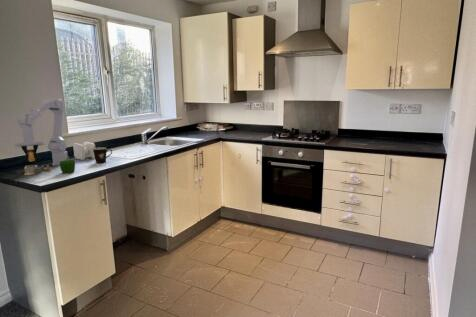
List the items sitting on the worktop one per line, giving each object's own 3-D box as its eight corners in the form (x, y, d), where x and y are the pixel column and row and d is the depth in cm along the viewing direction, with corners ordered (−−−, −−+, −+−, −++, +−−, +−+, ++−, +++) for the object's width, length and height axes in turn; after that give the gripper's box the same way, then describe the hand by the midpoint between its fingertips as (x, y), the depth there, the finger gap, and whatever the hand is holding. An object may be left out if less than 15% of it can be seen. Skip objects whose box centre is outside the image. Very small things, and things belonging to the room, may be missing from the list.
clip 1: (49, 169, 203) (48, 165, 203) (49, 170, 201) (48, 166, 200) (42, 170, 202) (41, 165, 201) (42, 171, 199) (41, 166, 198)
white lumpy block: (73, 158, 239) (72, 142, 236) (87, 155, 247) (86, 141, 244) (83, 161, 229) (81, 145, 227) (97, 158, 237) (95, 143, 235)
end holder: (37, 169, 204) (37, 164, 203) (37, 171, 198) (36, 167, 198) (25, 170, 201) (25, 166, 200) (25, 173, 195) (24, 168, 195)
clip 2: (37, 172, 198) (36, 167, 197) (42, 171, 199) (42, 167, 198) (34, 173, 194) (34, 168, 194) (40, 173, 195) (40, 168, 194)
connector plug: (35, 160, 200) (33, 149, 198) (35, 161, 197) (33, 149, 195) (28, 160, 198) (27, 149, 196) (28, 161, 195) (27, 150, 194)
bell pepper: (69, 175, 192) (67, 159, 190) (57, 174, 194) (55, 158, 192) (79, 172, 200) (77, 156, 198) (68, 171, 202) (66, 155, 200)
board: (51, 167, 210) (51, 166, 210) (51, 173, 197) (51, 172, 197) (26, 170, 204) (26, 169, 204) (24, 176, 191) (24, 175, 191)
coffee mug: (92, 164, 220) (91, 149, 218) (96, 161, 229) (94, 147, 227) (110, 163, 222) (109, 149, 220) (113, 160, 231) (112, 147, 228)
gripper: (13, 137, 187) (16, 160, 190) (42, 135, 194) (45, 157, 197) (14, 135, 193) (17, 158, 196) (42, 134, 200) (45, 155, 203)
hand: (31, 157), depth 197 cm, fingers closed on connector plug, 3 cm apart
